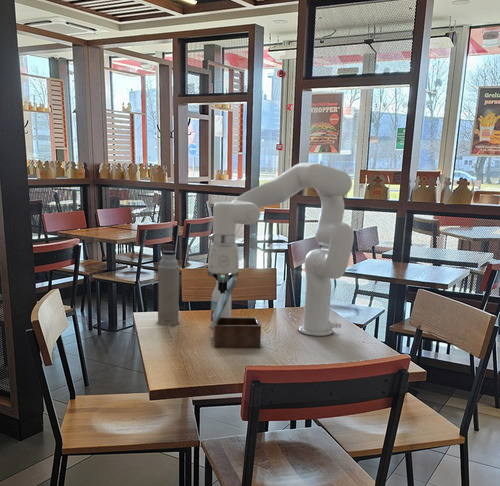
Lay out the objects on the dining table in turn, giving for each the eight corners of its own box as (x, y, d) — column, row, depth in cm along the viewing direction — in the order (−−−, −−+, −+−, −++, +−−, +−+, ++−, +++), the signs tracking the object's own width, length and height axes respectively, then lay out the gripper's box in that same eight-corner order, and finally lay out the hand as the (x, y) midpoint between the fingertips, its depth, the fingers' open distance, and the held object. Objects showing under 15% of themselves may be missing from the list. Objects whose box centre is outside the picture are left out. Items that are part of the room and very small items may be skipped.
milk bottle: (231, 325, 223) (233, 274, 219) (229, 330, 216) (231, 278, 211) (212, 324, 224) (213, 273, 219) (209, 329, 216) (210, 277, 212)
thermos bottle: (155, 324, 220) (155, 252, 213) (161, 319, 227) (161, 249, 221) (175, 326, 219) (176, 253, 212) (180, 321, 226) (181, 250, 220)
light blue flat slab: (234, 274, 201) (231, 273, 201) (237, 280, 190) (234, 279, 190) (214, 316, 204) (212, 315, 203) (216, 324, 193) (214, 323, 193)
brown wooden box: (255, 338, 207) (256, 317, 206) (260, 347, 196) (261, 325, 195) (212, 338, 205) (213, 317, 204) (214, 347, 194) (215, 325, 193)
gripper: (201, 240, 188) (200, 295, 192) (247, 241, 189) (245, 295, 194) (201, 237, 195) (200, 290, 199) (244, 238, 197) (243, 290, 201)
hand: (222, 292), depth 196 cm, fingers closed
